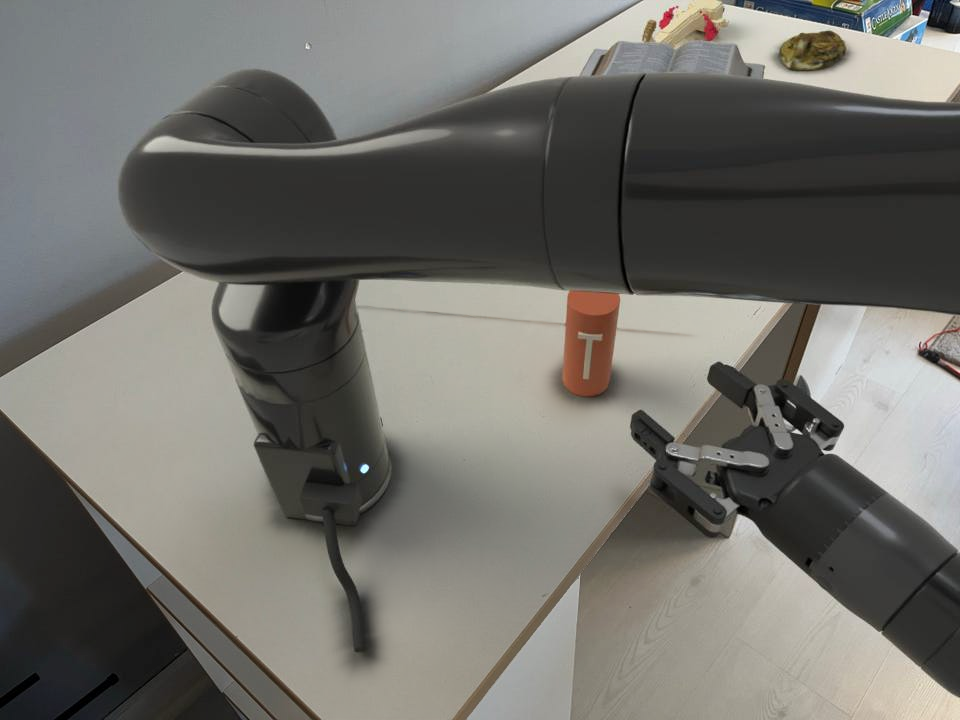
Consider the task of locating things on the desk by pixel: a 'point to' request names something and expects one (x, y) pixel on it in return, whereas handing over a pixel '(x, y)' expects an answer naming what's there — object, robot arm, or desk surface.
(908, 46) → the desk surface
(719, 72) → the bible
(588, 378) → the pillar
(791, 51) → the olive rounded lump
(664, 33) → the cream and red piece
